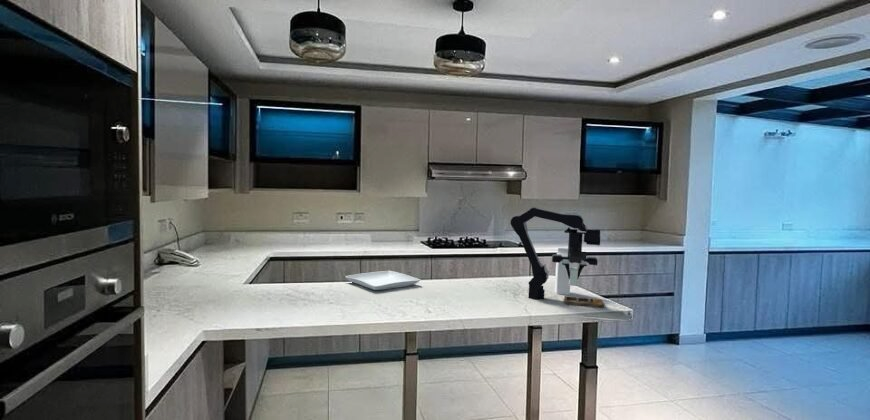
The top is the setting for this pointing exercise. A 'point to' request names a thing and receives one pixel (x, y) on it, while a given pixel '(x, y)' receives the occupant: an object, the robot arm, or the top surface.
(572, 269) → the block
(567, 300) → the rack
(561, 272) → the milk
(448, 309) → the top surface
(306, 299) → the top surface
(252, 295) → the top surface
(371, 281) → the square plate
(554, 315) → the top surface
